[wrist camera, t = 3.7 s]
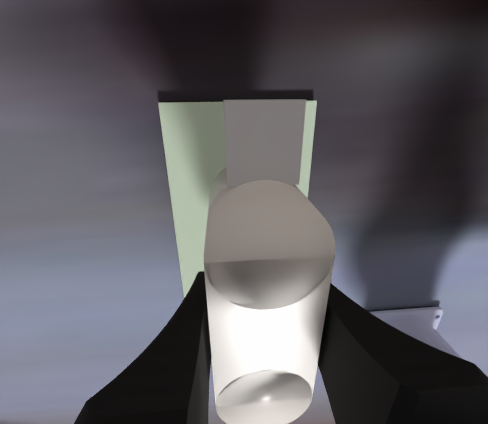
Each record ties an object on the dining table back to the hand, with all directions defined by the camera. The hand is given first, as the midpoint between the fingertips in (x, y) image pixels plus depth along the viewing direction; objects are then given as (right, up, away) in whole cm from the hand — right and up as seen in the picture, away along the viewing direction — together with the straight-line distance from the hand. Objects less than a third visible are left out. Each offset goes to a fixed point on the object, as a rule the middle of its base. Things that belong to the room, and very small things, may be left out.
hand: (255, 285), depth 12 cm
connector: (0, +2, +1) cm, 2 cm away
